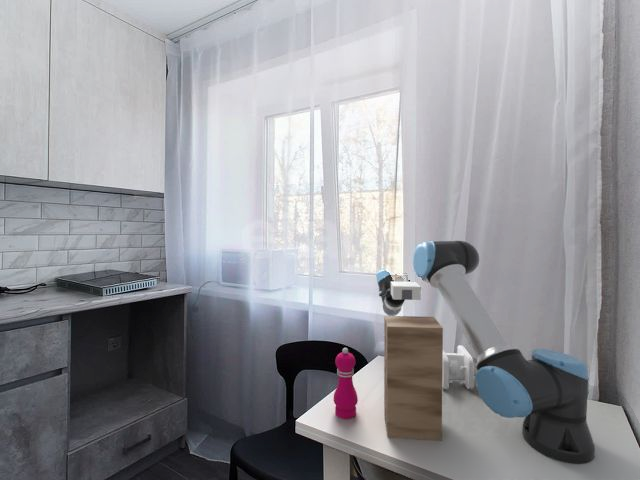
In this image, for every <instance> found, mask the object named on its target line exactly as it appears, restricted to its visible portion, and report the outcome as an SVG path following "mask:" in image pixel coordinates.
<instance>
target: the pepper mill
mask: <svg viewBox="0 0 640 480" xmlns="http://www.w3.org/2000/svg"><path fill="white" fill-rule="evenodd" d="M341 351H342V352H340V353H338V354H337V356H336V357H335V360H334V361H335V362H334V363H335V366H336V368H337V369H336V371H337V372H336V374H337V376H338V383H337V386H336V389H335V391H334V392H333V393H334V394H333V402H334V405H335V407H334V409H335V410H334V413H335V415H336V416H337V417H338V418H340V419H342V420H349V419H353V418H354V417H355V416H356V415H357V406H356V405H358V401H359V400H358V393H357V390H356V388H355V386H354V382H353V376H354V373H355V372H354V371H355V369H354V367H355V365H356V359H355V358H356V357H355V356H354V355H353V353H350V352H349V349H348V348H347V347H344V348H342V350H341Z"/></svg>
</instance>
